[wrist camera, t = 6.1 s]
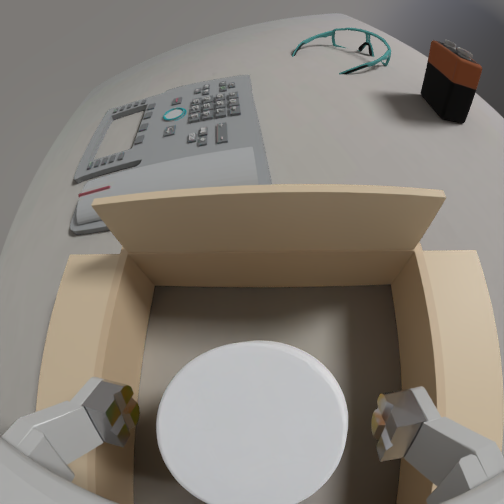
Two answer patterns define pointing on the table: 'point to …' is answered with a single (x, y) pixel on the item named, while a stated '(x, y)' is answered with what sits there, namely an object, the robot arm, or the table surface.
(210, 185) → the office telephone
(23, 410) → the table surface
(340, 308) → the table surface
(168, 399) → the supplement bottle
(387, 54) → the sunglasses
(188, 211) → the carton
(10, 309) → the table surface
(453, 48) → the battery
